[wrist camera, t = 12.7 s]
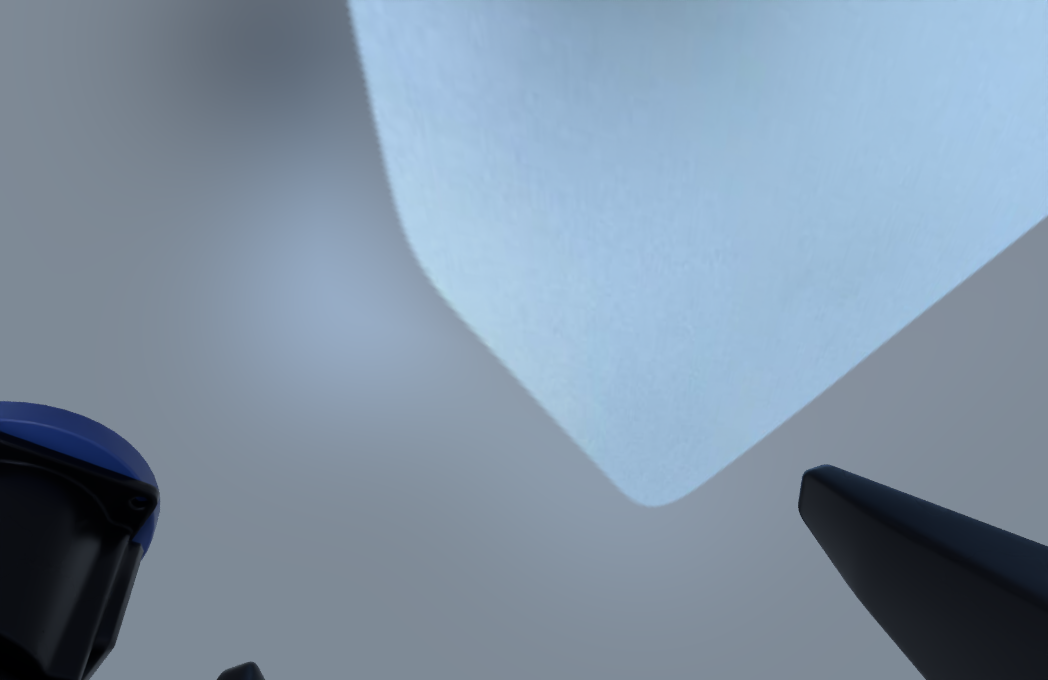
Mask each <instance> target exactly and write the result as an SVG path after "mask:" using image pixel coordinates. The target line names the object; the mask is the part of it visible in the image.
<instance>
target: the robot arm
mask: <svg viewBox="0 0 1048 680" xmlns="http://www.w3.org/2000/svg"><path fill="white" fill-rule="evenodd" d="M136 497H144V498H146V499H148V500H147V501H138V500H137V499H135V498H136ZM159 497H160V493H159V490H158V489H157V488H156V487H155V486H153V485H151V484H148V483H145V482H143V481H140V480H137V479H134V478H131V477H128V476H126V475H123V474H120V473H117V472H114V471H112V470H109V469H106V468H103V467H100V466H97V465H95V464H92V463H89V462H86V461H83V460H80V459H78V458H75V457H72V456H69V455H66V454H63V453H61V452H58V451H55V450H52V449H49V448H46V447H44V446H41V445H38V444H35V443H32V442H30V441H27V440H24V439H21V438H18V437H15V436H13V435H10V434H7V433H4V432H1V431H0V680H89V679H90V678H91V677H92V675H93V674H94V672H95V671H96V670H97V669H98V668H99V666H100V665H101V663H102V662H103V661H104V659H105V658H106V657H107V656H108V654H109V653H110V652H111V651H112V649H113V648H114V646H115V643H116V640H117V637H118V634H119V630H120V627H121V624H122V620H123V617H124V614H125V611H126V607H127V604H128V601H129V598H130V595H131V591H132V588H133V585H134V581H135V578H136V575H137V572H138V568H139V565H140V562H141V559H142V555H143V552H144V551H143V548H142V545H141V543H138V542H134V541H132V539H133V538H134V537H135V535H136V534H137V533H138V531H139V530H140V529H141V527H142V526H143V525H144V523H145V522H146V520H147V519H148V518H149V516H150V515H151V514H152V512H153V511H154V510H155V508H156V506H157V504H158V500H159ZM798 508H799V512H800V515H801V517H802V519H803V521H804V522H805V524H806V525H807V527H808V528H809V529H810V531H811V532H812V534H813V535H814V537H815V538H816V540H817V541H818V543H819V544H820V545H821V547H822V548H823V549H824V551H825V553H826V554H827V555H828V557H829V558H830V560H831V561H832V563H833V564H834V566H835V567H836V568H837V570H838V571H839V573H840V574H841V576H842V577H843V579H844V580H845V581H846V583H847V584H848V585H849V587H850V588H851V590H852V591H853V592H854V594H855V595H856V596H857V598H858V599H859V600H860V601H861V602H862V604H863V605H864V606H865V608H866V609H867V610H868V611H869V612H870V614H871V615H872V616H873V617H874V618H875V620H876V621H877V622H878V623H879V624H880V625H881V627H882V628H883V629H884V630H885V632H886V633H887V634H888V635H889V636H890V637H891V639H892V640H893V641H894V642H895V643H896V644H897V646H898V647H899V648H900V649H901V651H902V652H903V653H904V654H905V655H906V656H907V658H908V659H909V660H910V661H911V662H912V664H913V665H914V666H915V667H916V668H917V670H918V671H919V672H920V673H921V674H922V676H923V677H924V678H925V679H926V680H1048V546H1045V545H1042V544H1040V543H1037V542H1034V541H1032V540H1029V539H1026V538H1024V537H1021V536H1018V535H1016V534H1013V533H1010V532H1008V531H1005V530H1002V529H1000V528H997V527H994V526H991V525H989V524H986V523H984V522H981V521H978V520H976V519H973V518H971V517H968V516H965V515H963V514H960V513H957V512H955V511H952V510H949V509H946V508H944V507H941V506H939V505H935V504H933V503H931V502H928V501H925V500H923V499H920V498H917V497H914V496H912V495H909V494H907V493H904V492H901V491H898V490H896V489H893V488H890V487H888V486H885V485H883V484H879V483H877V482H874V481H872V480H869V479H866V478H864V477H861V476H859V475H856V474H853V473H851V472H848V471H845V470H842V469H840V468H837V467H835V466H831V465H820V466H817V467H814V468H812V469H809V470H807V471H805V472H804V474H803V476H802V482H801V488H800V496H799V502H798ZM217 680H265V679H264V677H263V675H262V673H261V671H260V669H259V668H258V666H257V665H256V664H255V663H254V662H247V663H244V664H241V665H238V666H235V667H232V668H229V669H227V670H225V671H224V672H222V673H221V675H220V676H219V677H218V679H217Z"/></svg>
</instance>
